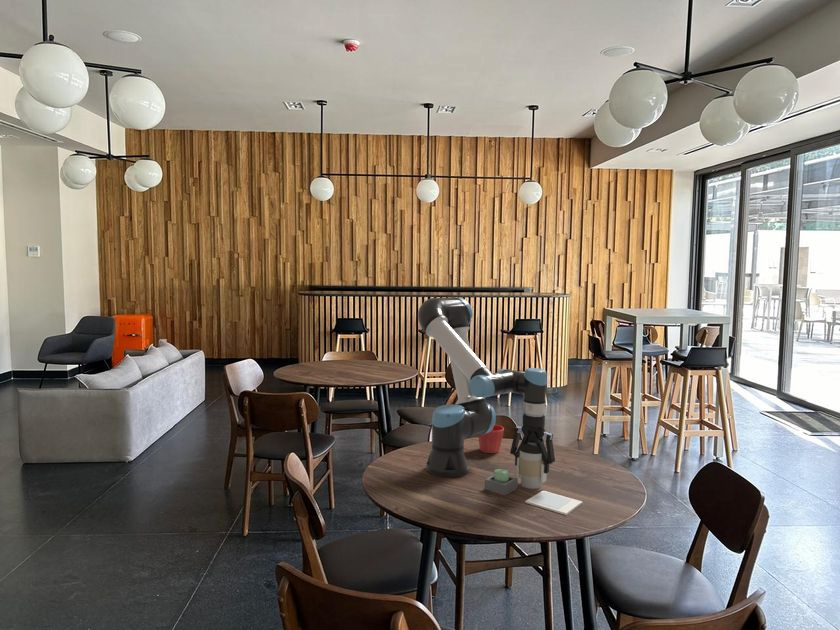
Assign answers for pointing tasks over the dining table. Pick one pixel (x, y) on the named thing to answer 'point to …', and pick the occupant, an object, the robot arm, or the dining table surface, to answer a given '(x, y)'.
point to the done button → (501, 475)
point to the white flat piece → (554, 502)
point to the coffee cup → (530, 465)
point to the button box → (501, 485)
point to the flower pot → (491, 440)
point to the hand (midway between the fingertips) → (531, 478)
